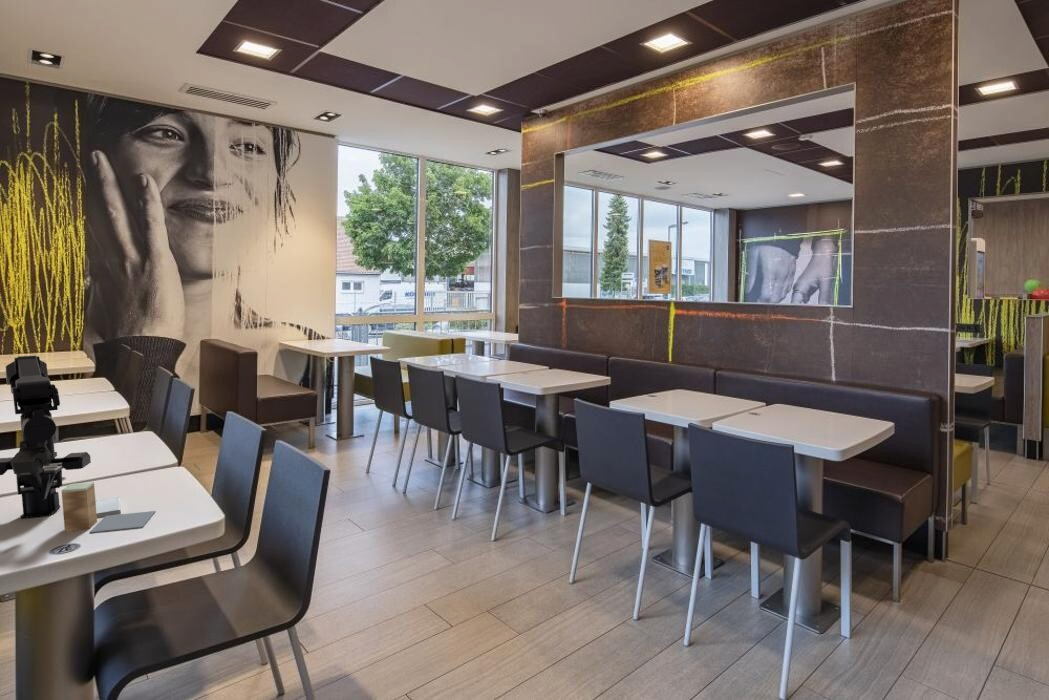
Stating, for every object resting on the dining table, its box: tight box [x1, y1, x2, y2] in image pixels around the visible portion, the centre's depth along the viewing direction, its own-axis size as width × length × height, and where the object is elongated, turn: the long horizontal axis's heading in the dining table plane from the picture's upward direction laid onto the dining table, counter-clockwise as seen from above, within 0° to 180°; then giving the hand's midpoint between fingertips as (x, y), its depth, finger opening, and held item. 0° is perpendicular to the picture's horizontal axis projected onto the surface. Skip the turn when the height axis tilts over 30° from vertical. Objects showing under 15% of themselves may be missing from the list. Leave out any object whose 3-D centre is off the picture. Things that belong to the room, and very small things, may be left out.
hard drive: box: [95, 496, 122, 519], centre depth 161 cm, size 2×8×12 cm
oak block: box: [61, 481, 98, 533], centre depth 149 cm, size 5×5×10 cm
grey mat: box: [89, 510, 156, 534], centre depth 152 cm, size 11×11×1 cm
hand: (43, 499), depth 147 cm, fingers closed
